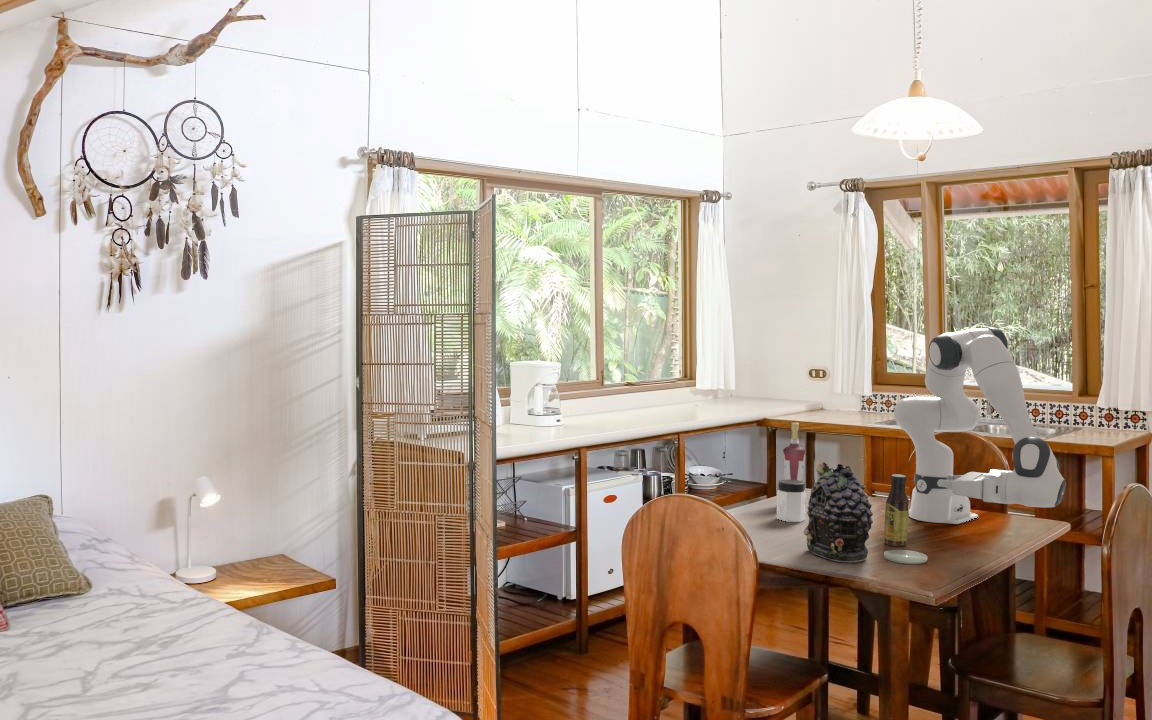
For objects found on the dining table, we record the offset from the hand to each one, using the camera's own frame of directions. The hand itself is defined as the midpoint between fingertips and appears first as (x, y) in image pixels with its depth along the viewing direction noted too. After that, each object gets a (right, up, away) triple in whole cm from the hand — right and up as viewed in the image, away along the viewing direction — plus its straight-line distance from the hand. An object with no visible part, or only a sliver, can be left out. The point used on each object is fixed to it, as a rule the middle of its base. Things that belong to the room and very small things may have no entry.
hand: (942, 480), depth 263 cm
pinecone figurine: (-30, -20, -5) cm, 37 cm away
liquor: (-27, -16, +60) cm, 68 cm away
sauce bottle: (-10, -19, +8) cm, 23 cm away
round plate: (-13, -20, -7) cm, 25 cm away
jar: (-33, -17, +39) cm, 54 cm away
